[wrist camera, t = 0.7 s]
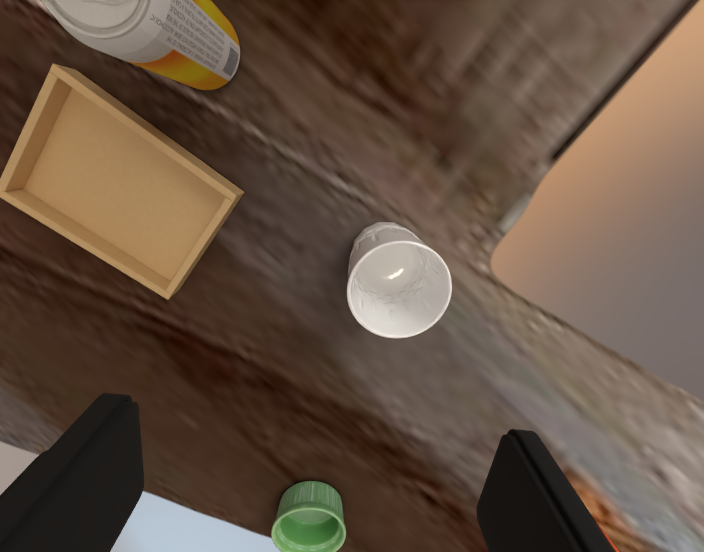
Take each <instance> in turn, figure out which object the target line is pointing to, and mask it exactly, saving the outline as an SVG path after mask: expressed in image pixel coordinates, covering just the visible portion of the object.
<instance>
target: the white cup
mask: <svg viewBox="0 0 704 552" xmlns="http://www.w3.org/2000/svg"><path fill="white" fill-rule="evenodd" d="M451 292H452V281H451V276H450V272H449V270H448V268H447V266H446V264H445V262H444V261H443V259H442V258H441V257H440V256H439V255H438V254H437V253H436V252H435V251H433V250H432V249H431V248H430V247H429V246H428V245H427V244H426V243H424V242H423V241H422V240H421V239H420V238H419V237H417V236H416V235H415V234H414V233H412V232H411V231H409V230H408V229H407V228H405V227H402V226H400V225H398V224H396V223H394V222H377V223H375V224H373V225H371V226H369V227H367V228H365V229H363V230H362V232H361V233H360V234H359V235H358V237H357V238H356V239H355V240H354V243H353V247H352V252H351V255H350V261H349V268H348V283H347V299H348V304H349V307H350V310H351V312H352V314H353V315H354V317H355V318H356V320H357V321H358V322H359V323H360V324H361V325H362V326H363V327H364V328H366V329H367V330H369V331H370V332H372V333H374V334H376V335H379V336H383V337H387V338H406V337H411V336H414V335H417V334H419V333H421V332H423V331H425V330H427V329H428V328H430V327H431V326H433V325H434V324H435V323H436V322H437V321H438V320H439V319H440V318H441V316H442V315H443V314H444V312H445V310H446V308H447V306H448V304H449V301H450V298H451Z"/></svg>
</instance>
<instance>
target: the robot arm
mask: <svg viewBox="0 0 704 552" xmlns="http://www.w3.org/2000/svg"><path fill="white" fill-rule="evenodd" d="M143 487H144V472H143V459H142V447H141V434H140V422H139V409H138V404H137V402H132V398H131V397H130V396H129V395H120V394H109V393H104V394H101V395H100V396H99V397H98V398H97V399H96V400H95V401H94V402H93V403H92V404H91V405H90V406H89V407H88V408H87V410H86V411H85V412H84V413H83V414H82V415H81V416H80V417H79V418H78V419H77V420H76V421H75V422H74V423H73V424H72V425H71V426H70V428H69V429H68V430H67V431H66V432H65V433H64V434H63V435H62V436H61V437H60V438H59V439H58V440H57V441H56V442H55V443H54V445H53V446H52V447H51V448H50V449H49V450H47V451H45V452H43V453H42V454H40V455H39V456H38V457H37V458H36V459H35V460H34V461H33V462H32V463H31V464H30V465H29V466H28V467H27V468H26V469H25V470H24V471H23V472H22V473H21V474H20V475H19V476H18V477H17V479H16V480H15V481H14V482H13V483H12V484H11V485H10V486H9V487H8V488H7V489H6V490H5V491H4V492H3V493H2V494H1V495H0V552H110V551H111V549H112V547H113V545H114V543H115V542H116V540H117V538H118V536H119V535H120V533H121V531H122V529H123V527H124V526H125V524H126V522H127V520H128V518H129V517H130V515H131V513H132V511H133V510H134V508H135V506H136V504H137V502H138V501H139V498H140V496H141V494H142V491H143ZM477 519H478V522H479V525H480V528H481V531H482V533H483V536H484V539H485V542H486V544H487V547H488V550H489V552H616V551H615V550H614V548H613V547H612V545H611V544H610V542H609V541H608V539H607V538H606V536H605V535H604V533H603V532H602V530H601V529H600V527H599V526H598V524H597V523H596V521H595V520H594V518H593V517H592V515H591V514H590V512H589V511H588V509H587V508H586V506H585V505H584V503H583V502H582V500H581V499H580V497H579V496H578V494H577V493H576V491H575V490H574V488H573V487H572V486H571V484H570V483H569V481H568V480H567V478H566V477H565V475H564V474H563V472H562V471H561V469H560V468H559V466H558V465H557V463H556V462H555V460H554V459H553V457H552V456H551V454H550V453H549V451H548V450H547V448H546V447H545V445H544V444H543V442H542V441H541V439H540V438H539V436H538V435H537V434H536V433H535V432H533V431H526V430H514V429H512V430H510V431H508V433H507V435H503V436H502V438H501V440H500V443H499V446H498V449H497V451H496V454H495V457H494V460H493V463H492V465H491V468H490V471H489V474H488V477H487V479H486V482H485V485H484V488H483V491H482V493H481V496H480V499H479V502H478V505H477Z"/></svg>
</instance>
